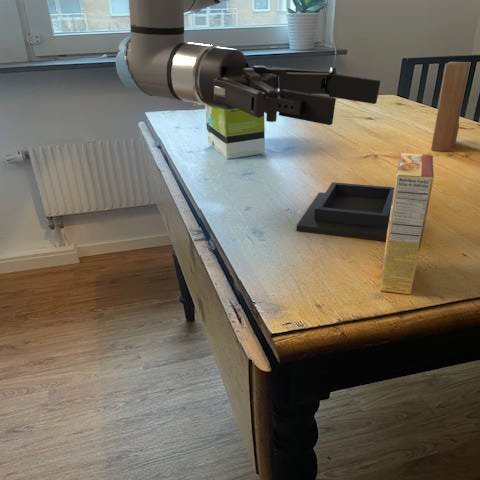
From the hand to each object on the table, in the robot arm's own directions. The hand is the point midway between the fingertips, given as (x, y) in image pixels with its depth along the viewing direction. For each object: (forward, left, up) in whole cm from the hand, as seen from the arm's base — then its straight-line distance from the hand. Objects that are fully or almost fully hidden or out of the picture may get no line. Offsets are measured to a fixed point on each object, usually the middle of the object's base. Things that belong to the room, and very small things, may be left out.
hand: (357, 101), depth 60 cm
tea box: (+36, -52, -22) cm, 67 cm away
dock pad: (+1, -17, -21) cm, 27 cm away
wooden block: (-11, -65, -22) cm, 70 cm away
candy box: (-8, +2, -22) cm, 23 cm away
